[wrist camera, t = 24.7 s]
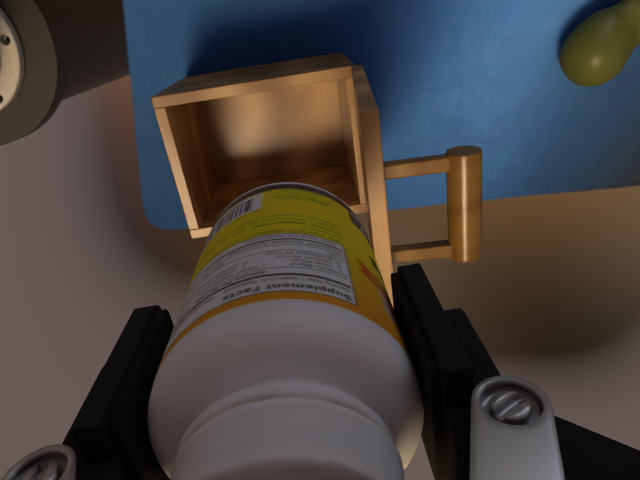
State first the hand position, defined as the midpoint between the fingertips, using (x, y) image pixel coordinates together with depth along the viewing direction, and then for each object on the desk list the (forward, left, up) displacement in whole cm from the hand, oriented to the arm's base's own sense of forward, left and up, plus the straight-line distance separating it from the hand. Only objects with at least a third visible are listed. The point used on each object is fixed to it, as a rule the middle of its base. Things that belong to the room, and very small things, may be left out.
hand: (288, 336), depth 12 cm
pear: (+25, -1, -34) cm, 42 cm away
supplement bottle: (0, 0, -5) cm, 5 cm away
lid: (+4, -2, -17) cm, 18 cm away
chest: (-2, -2, -37) cm, 37 cm away
